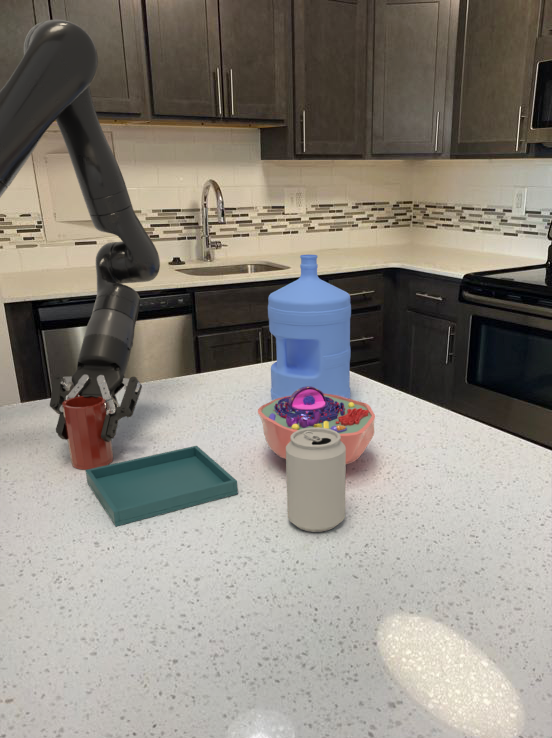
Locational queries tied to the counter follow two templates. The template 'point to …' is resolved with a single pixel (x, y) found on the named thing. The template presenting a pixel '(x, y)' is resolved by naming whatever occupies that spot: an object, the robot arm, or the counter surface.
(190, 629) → the counter surface
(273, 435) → the cell model
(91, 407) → the cup
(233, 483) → the rectangular tray
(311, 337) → the water jug
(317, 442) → the can
